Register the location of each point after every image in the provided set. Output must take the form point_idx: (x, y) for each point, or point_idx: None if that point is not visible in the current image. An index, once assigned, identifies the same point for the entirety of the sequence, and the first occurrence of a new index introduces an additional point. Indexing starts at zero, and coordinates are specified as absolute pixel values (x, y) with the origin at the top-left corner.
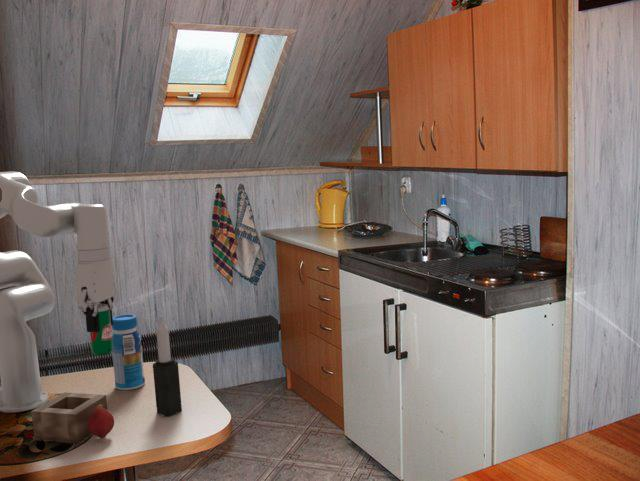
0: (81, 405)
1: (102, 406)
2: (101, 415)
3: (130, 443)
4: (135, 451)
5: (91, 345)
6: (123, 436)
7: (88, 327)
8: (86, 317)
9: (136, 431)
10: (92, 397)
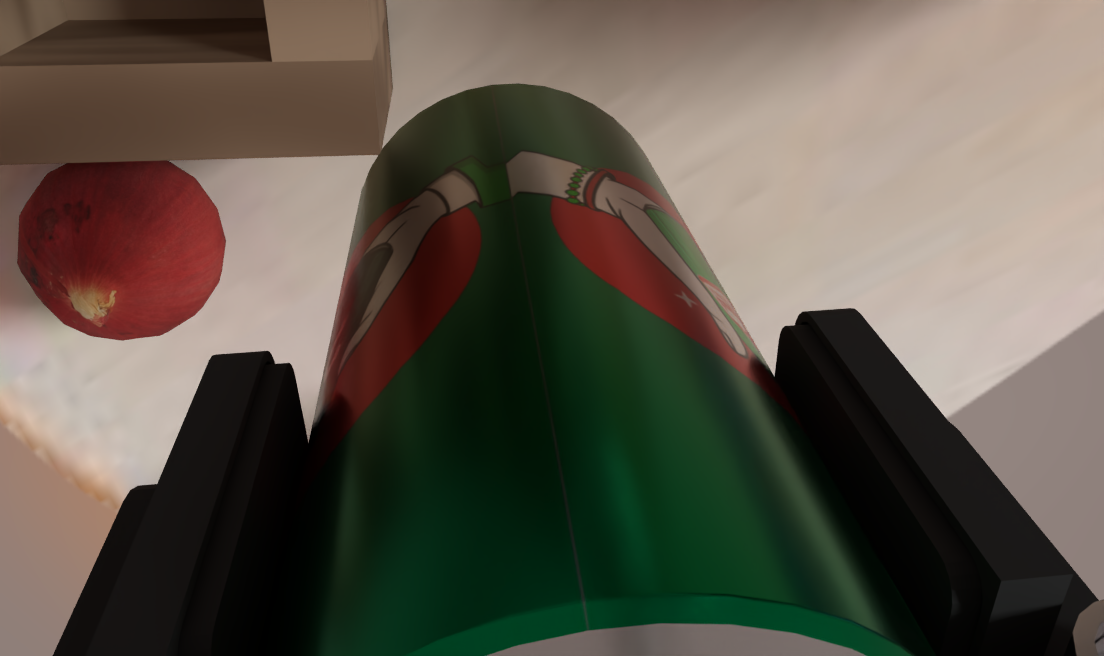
0: (90, 83)
1: (96, 325)
2: (64, 320)
3: (164, 400)
4: (93, 475)
5: (378, 188)
6: (229, 312)
7: (127, 517)
8: (111, 642)
9: (317, 345)
10: (292, 59)
